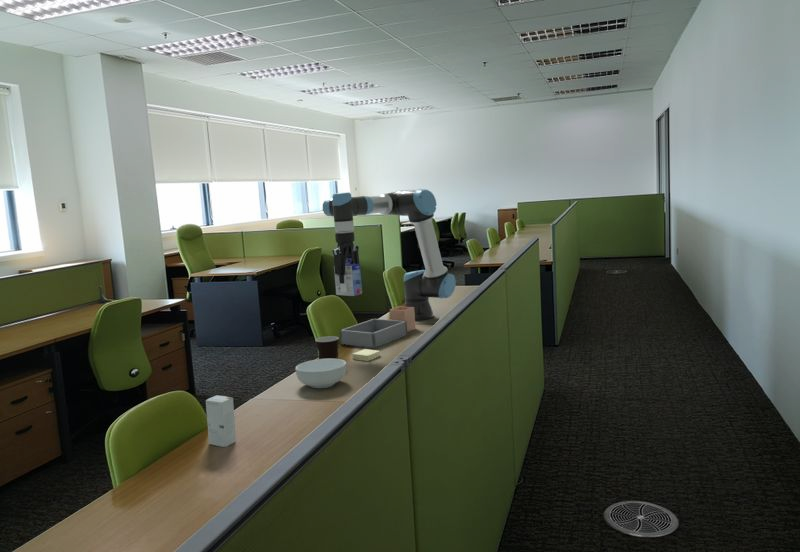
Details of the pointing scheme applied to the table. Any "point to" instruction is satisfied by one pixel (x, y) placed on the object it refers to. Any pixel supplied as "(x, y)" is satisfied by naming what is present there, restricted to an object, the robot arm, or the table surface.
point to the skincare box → (220, 421)
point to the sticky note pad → (366, 354)
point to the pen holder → (404, 316)
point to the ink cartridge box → (350, 280)
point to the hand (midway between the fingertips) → (349, 290)
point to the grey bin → (373, 332)
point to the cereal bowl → (321, 372)
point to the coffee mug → (327, 347)
